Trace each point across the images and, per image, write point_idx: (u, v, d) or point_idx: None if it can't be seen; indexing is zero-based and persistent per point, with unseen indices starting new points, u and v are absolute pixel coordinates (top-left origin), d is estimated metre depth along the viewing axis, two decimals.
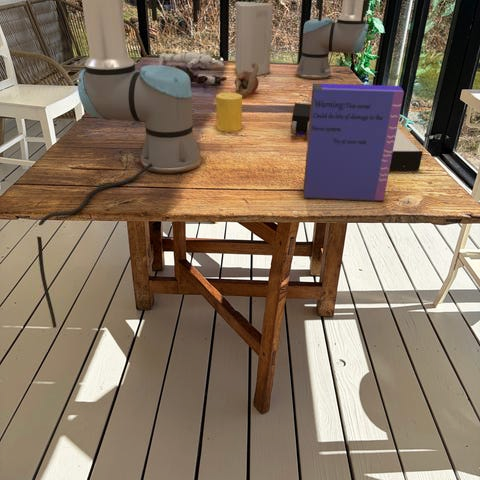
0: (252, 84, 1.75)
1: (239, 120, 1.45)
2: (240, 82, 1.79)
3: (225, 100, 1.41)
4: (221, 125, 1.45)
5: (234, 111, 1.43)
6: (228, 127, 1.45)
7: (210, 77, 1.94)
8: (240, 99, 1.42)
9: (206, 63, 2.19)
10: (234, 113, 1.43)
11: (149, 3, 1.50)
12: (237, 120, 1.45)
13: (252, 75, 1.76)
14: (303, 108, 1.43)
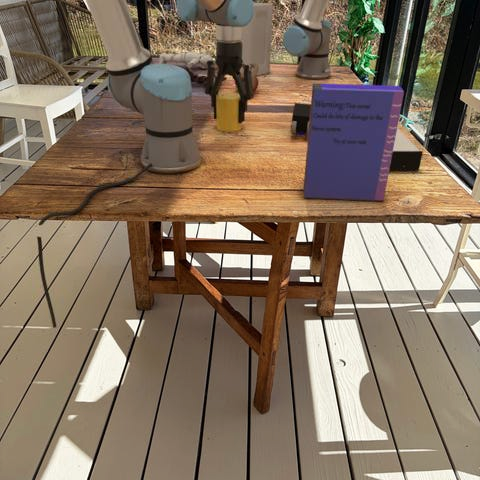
0: (252, 84, 1.75)
1: None
2: None
3: (225, 100, 1.41)
4: (221, 125, 1.45)
5: (234, 111, 1.43)
6: (228, 127, 1.45)
7: None
8: (240, 99, 1.42)
9: (206, 63, 2.19)
10: (234, 113, 1.43)
11: (212, 102, 1.46)
12: (237, 120, 1.45)
13: (252, 75, 1.76)
14: (303, 108, 1.43)
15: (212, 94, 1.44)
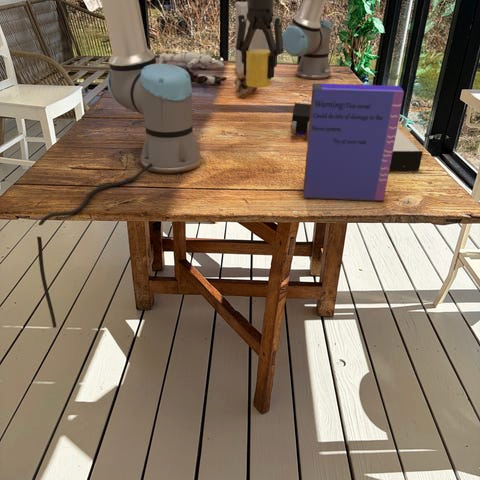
0: None
1: None
2: (240, 82, 1.79)
3: (255, 54, 1.42)
4: (251, 80, 1.46)
5: (264, 66, 1.43)
6: (257, 82, 1.46)
7: (210, 77, 1.94)
8: (270, 54, 1.43)
9: (206, 63, 2.19)
10: (263, 68, 1.44)
11: (242, 58, 1.48)
12: (266, 76, 1.45)
13: None
14: (303, 108, 1.43)
15: (242, 50, 1.46)
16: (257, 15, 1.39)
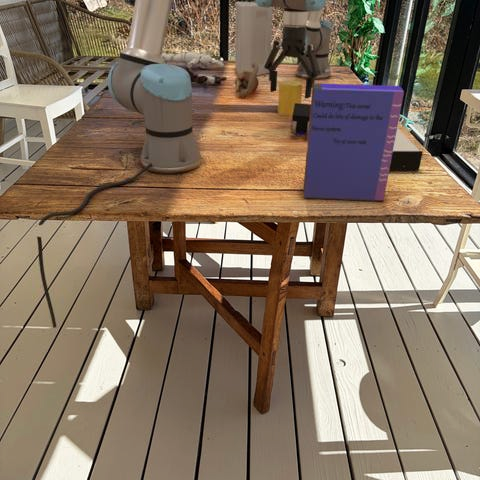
0: (252, 84, 1.75)
1: None
2: (240, 82, 1.79)
3: (286, 86, 1.56)
4: (282, 109, 1.61)
5: (294, 97, 1.58)
6: (288, 111, 1.60)
7: (210, 77, 1.94)
8: (300, 86, 1.57)
9: (206, 63, 2.19)
10: (294, 99, 1.58)
11: (270, 76, 1.62)
12: None
13: (252, 75, 1.76)
14: (303, 108, 1.43)
15: (270, 69, 1.60)
16: (291, 44, 1.52)
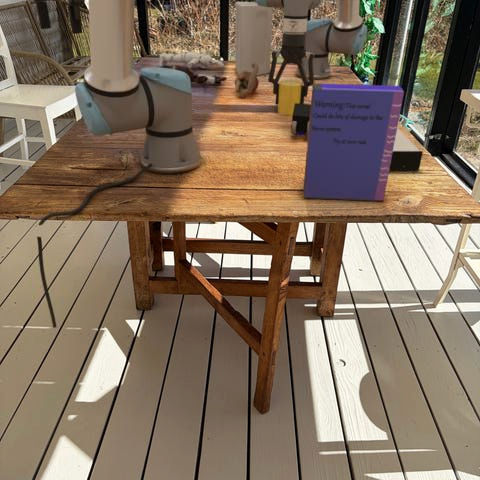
0: (252, 84, 1.75)
1: None
2: (240, 82, 1.79)
3: (286, 86, 1.56)
4: (282, 109, 1.61)
5: (294, 97, 1.58)
6: (288, 111, 1.60)
7: (210, 77, 1.94)
8: (300, 86, 1.57)
9: (206, 63, 2.19)
10: (294, 99, 1.58)
11: None
12: None
13: (252, 75, 1.76)
14: (303, 108, 1.43)
15: None
16: None
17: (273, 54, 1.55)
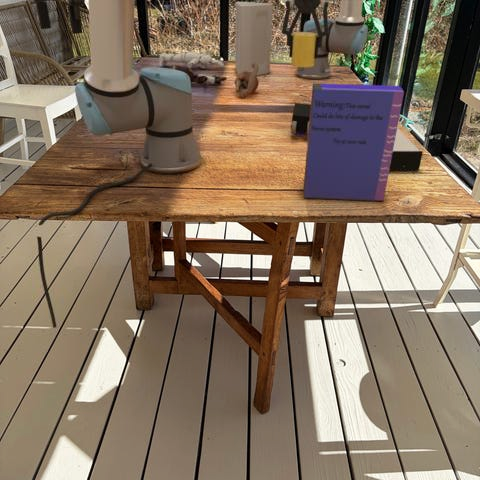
0: (252, 84, 1.75)
1: (312, 57, 1.59)
2: (240, 82, 1.79)
3: (301, 36, 1.54)
4: (296, 60, 1.59)
5: (309, 48, 1.56)
6: (302, 62, 1.58)
7: (210, 77, 1.94)
8: (315, 36, 1.56)
9: (206, 63, 2.19)
10: (308, 49, 1.56)
11: None
12: (311, 57, 1.58)
13: (252, 75, 1.76)
14: (303, 108, 1.43)
15: None
16: None
17: (287, 4, 1.53)
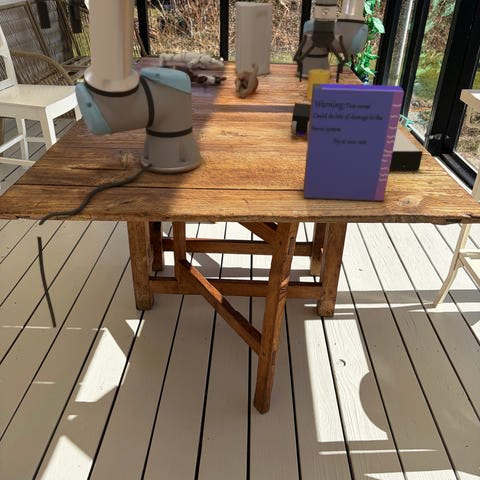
0: (252, 84, 1.75)
1: None
2: (240, 82, 1.79)
3: (318, 74, 1.72)
4: None
5: None
6: None
7: (210, 77, 1.94)
8: (329, 74, 1.74)
9: (206, 63, 2.19)
10: None
11: None
12: None
13: (252, 75, 1.76)
14: (303, 108, 1.43)
15: None
16: None
17: (305, 37, 1.69)
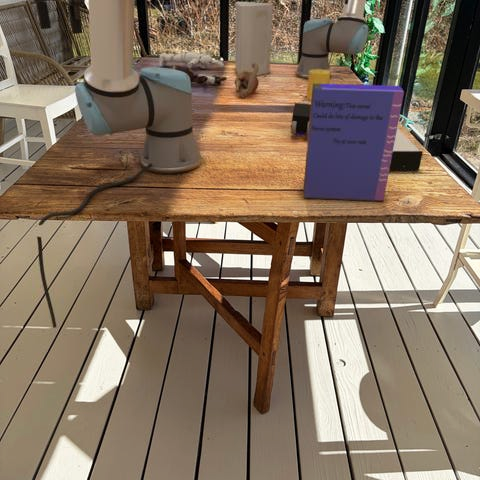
0: (252, 84, 1.75)
1: None
2: (240, 82, 1.79)
3: (318, 74, 1.72)
4: None
5: None
6: None
7: (210, 77, 1.94)
8: (329, 74, 1.74)
9: (206, 63, 2.19)
10: None
11: None
12: None
13: (252, 75, 1.76)
14: (303, 108, 1.43)
15: None
16: None
17: None
